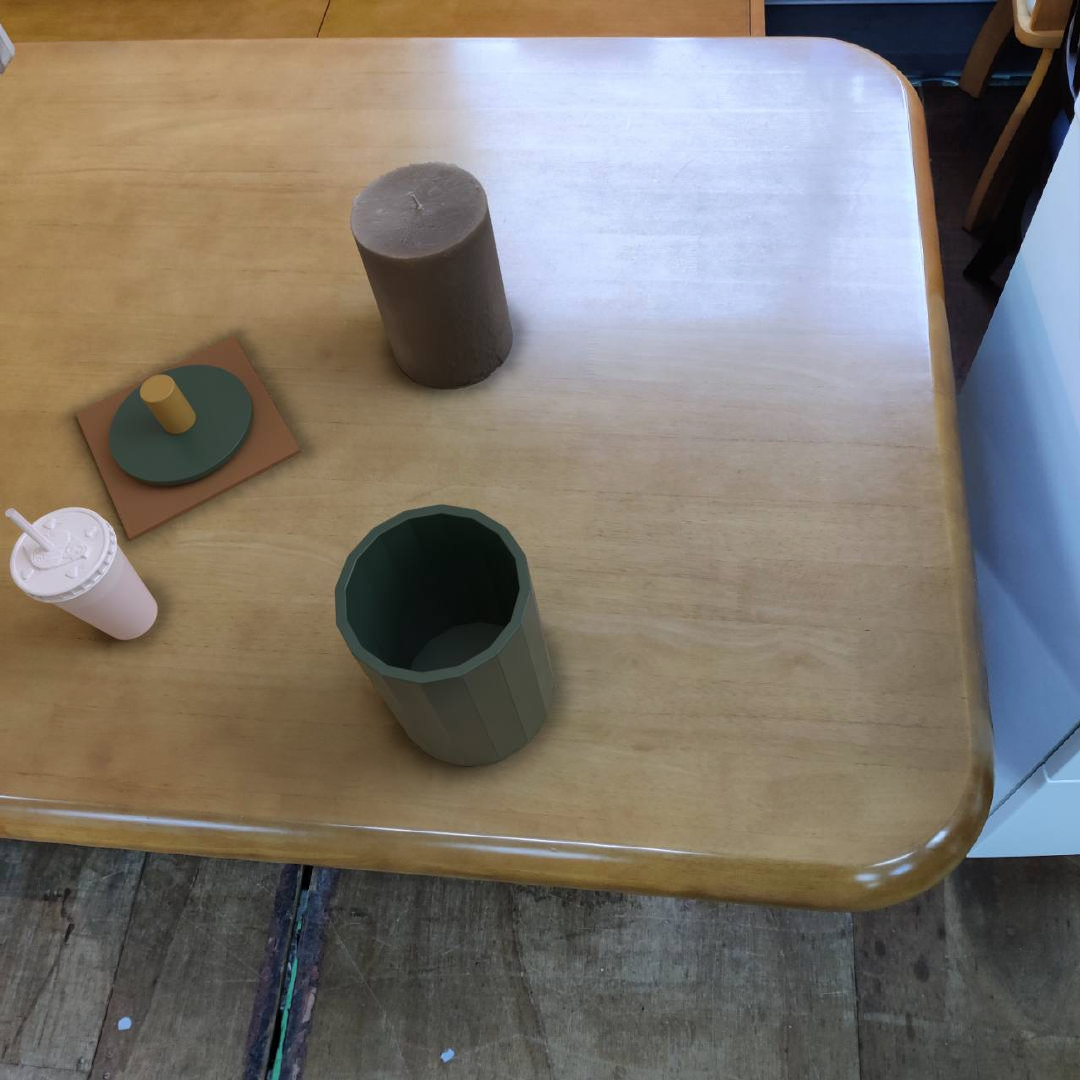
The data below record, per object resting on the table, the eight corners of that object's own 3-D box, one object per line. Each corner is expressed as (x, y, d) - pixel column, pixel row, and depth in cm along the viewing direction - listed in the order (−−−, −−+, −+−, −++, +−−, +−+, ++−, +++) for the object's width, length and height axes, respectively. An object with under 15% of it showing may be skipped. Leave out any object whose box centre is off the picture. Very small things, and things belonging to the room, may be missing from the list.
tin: (532, 782, 58) (499, 700, 46) (377, 747, 60) (306, 660, 48) (569, 633, 63) (550, 521, 50) (425, 605, 65) (372, 491, 53)
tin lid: (222, 501, 71) (193, 461, 66) (91, 478, 73) (54, 438, 68) (278, 383, 76) (254, 339, 71) (154, 365, 78) (123, 322, 74)
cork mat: (131, 542, 70) (128, 538, 70) (78, 417, 77) (74, 413, 76) (302, 452, 73) (300, 449, 72) (236, 339, 79) (234, 335, 79)
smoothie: (107, 572, 69) (-8, 463, 57) (189, 579, 68) (89, 470, 56) (73, 654, 66) (-55, 557, 54) (159, 662, 65) (47, 566, 53)
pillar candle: (498, 396, 74) (466, 249, 61) (379, 383, 75) (323, 238, 62) (524, 302, 78) (500, 147, 65) (411, 293, 80) (366, 140, 67)
